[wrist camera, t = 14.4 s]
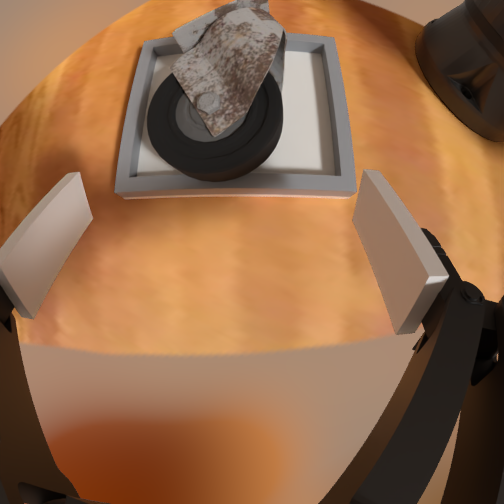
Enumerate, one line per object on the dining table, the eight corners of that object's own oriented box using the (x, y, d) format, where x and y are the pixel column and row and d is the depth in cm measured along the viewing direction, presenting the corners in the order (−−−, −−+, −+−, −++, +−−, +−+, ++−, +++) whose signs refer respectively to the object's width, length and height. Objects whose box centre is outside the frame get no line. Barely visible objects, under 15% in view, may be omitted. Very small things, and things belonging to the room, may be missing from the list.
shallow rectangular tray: (329, 51, 21) (334, 37, 19) (347, 199, 20) (356, 191, 18) (150, 54, 21) (144, 41, 19) (125, 199, 20) (114, 192, 18)
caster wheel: (203, 211, 20) (147, 108, 21) (342, 132, 19) (268, 40, 20) (166, 195, 14) (105, 68, 14) (363, 86, 13) (261, -16, 13)
